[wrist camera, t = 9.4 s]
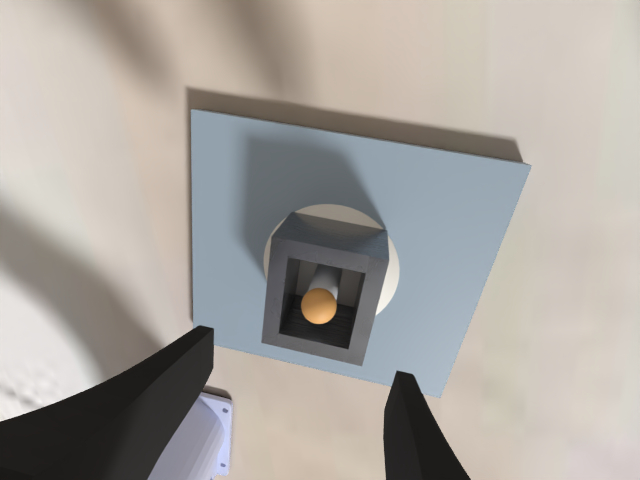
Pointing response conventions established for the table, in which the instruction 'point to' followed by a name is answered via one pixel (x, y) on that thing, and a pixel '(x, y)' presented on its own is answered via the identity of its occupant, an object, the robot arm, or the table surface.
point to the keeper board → (353, 207)
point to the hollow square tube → (334, 250)
